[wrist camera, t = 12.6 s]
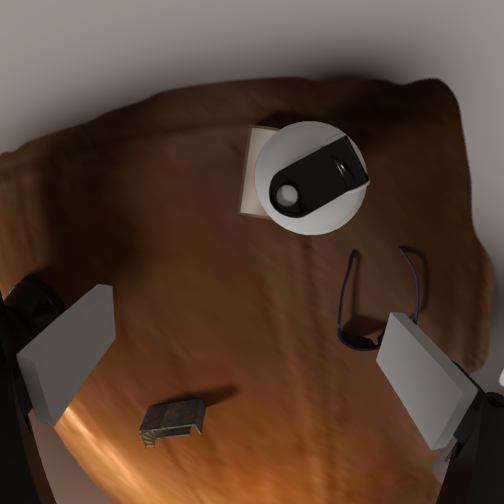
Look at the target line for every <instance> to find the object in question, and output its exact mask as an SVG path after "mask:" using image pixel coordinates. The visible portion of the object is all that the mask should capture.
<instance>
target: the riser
mask: <svg viewBox="0 0 504 504" xmlns="http://www.w3.org/2000/svg"><path fill="white" fill-rule="evenodd" d="M279 130H281V129H278V128H271V127H264V126H257V125H249V132H248V139H247V146H246V153H245V160H244V167H243V174H242V182H241V189H240V196H239V203H238V211H237V215H243V216H250V217H257V218H264V219H271V220H273V219H272V218H271V217H270V216H269V215H268V214H267V212H266V211H265V209H264V208H263V207H262V205H261V203H260V201H259V198H258V196H257V194H256V189H255V185H254V169H255V164H256V160H257V158H258V155H259V153H260V151H261V149H262V148H263V146H264V145H265V143H266V142H267V141H268V140H269V139H270V138H271V137H272V136H273V135H274V134H275V133H276V132H278V131H279Z"/></svg>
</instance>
